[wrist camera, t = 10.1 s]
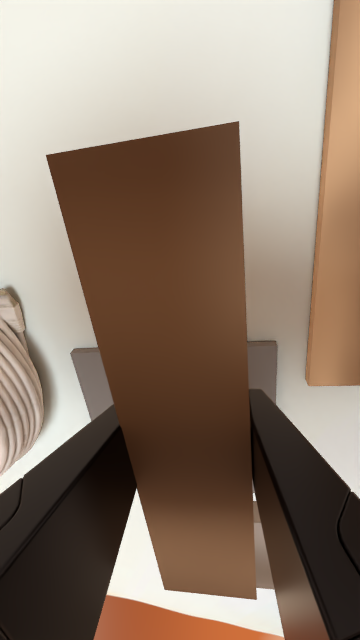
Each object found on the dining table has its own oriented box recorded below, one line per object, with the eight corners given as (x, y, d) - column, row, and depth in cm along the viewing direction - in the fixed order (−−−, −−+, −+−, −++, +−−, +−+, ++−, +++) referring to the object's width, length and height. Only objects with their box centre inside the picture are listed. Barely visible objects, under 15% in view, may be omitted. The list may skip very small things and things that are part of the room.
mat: (275, 340, 19) (277, 345, 18) (272, 486, 24) (273, 493, 24) (74, 348, 21) (70, 353, 20) (114, 480, 27) (112, 486, 26)
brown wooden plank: (73, 174, 7) (-18, 166, 4) (283, 140, 6) (328, 105, 4) (167, 557, 14) (153, 648, 11) (277, 567, 13) (291, 668, 10)
